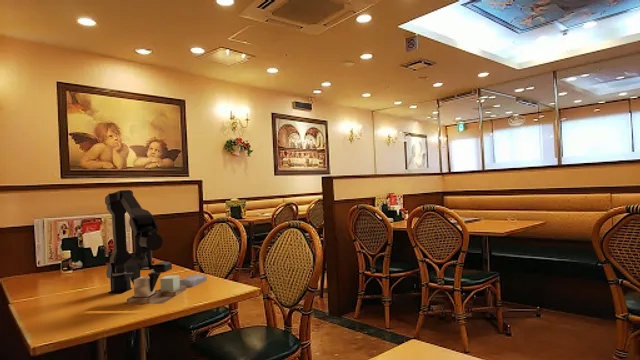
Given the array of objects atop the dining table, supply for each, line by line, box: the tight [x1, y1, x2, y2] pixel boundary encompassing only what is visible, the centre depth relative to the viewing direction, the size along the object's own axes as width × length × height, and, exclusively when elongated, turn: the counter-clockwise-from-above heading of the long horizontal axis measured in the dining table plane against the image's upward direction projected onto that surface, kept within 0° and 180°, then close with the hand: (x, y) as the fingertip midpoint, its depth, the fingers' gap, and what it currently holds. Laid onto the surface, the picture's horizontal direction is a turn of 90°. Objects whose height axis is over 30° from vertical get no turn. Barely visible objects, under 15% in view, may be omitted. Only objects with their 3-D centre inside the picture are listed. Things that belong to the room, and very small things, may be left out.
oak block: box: [133, 276, 156, 297], centre depth 140 cm, size 5×5×6 cm
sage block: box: [160, 274, 181, 291], centre depth 148 cm, size 5×5×6 cm
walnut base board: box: [125, 286, 187, 305], centre depth 144 cm, size 14×18×2 cm
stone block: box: [179, 274, 207, 288], centre depth 162 cm, size 12×5×10 cm
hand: (144, 291), depth 140 cm, fingers closed on oak block, 5 cm apart
